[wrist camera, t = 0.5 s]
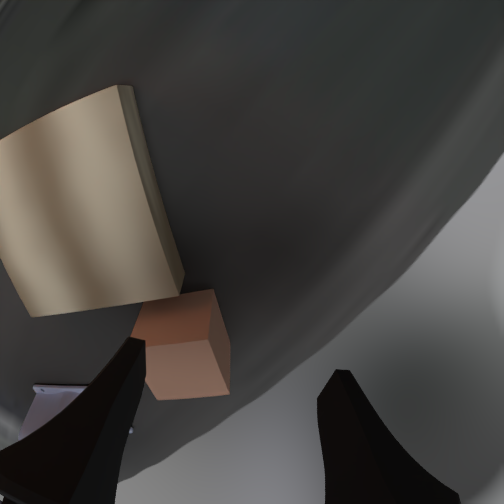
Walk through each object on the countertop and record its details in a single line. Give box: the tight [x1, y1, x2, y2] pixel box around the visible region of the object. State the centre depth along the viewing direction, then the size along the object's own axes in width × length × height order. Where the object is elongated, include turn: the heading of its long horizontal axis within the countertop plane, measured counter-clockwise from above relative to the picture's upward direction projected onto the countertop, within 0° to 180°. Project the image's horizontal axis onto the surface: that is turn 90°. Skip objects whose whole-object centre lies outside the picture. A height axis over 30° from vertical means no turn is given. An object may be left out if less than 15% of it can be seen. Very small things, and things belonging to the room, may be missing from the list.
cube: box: [130, 289, 230, 400], centre depth 20 cm, size 5×5×5 cm
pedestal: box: [0, 85, 185, 317], centre depth 17 cm, size 12×12×3 cm
